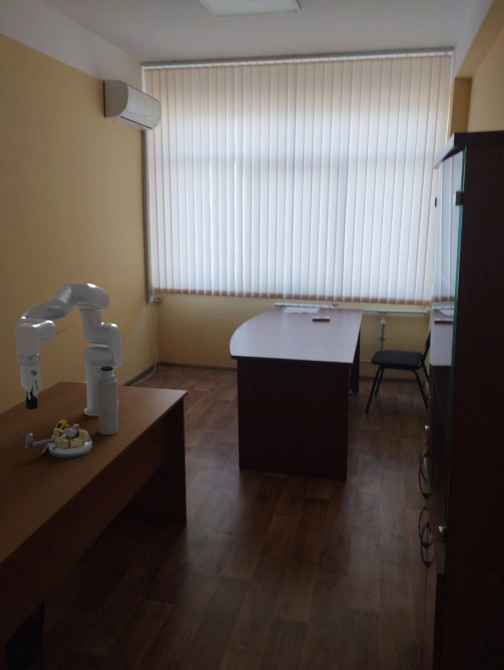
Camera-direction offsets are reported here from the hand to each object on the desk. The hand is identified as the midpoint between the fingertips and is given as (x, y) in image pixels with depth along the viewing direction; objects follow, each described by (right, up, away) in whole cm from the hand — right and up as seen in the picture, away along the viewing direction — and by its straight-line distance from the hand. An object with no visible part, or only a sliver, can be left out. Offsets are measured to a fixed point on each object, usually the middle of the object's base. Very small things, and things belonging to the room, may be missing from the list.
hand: (32, 407), depth 192 cm
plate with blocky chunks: (+8, -18, +17) cm, 26 cm away
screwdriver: (-1, -17, +23) cm, 29 cm away
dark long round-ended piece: (+5, -15, +13) cm, 21 cm away
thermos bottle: (+18, -15, +34) cm, 41 cm away
